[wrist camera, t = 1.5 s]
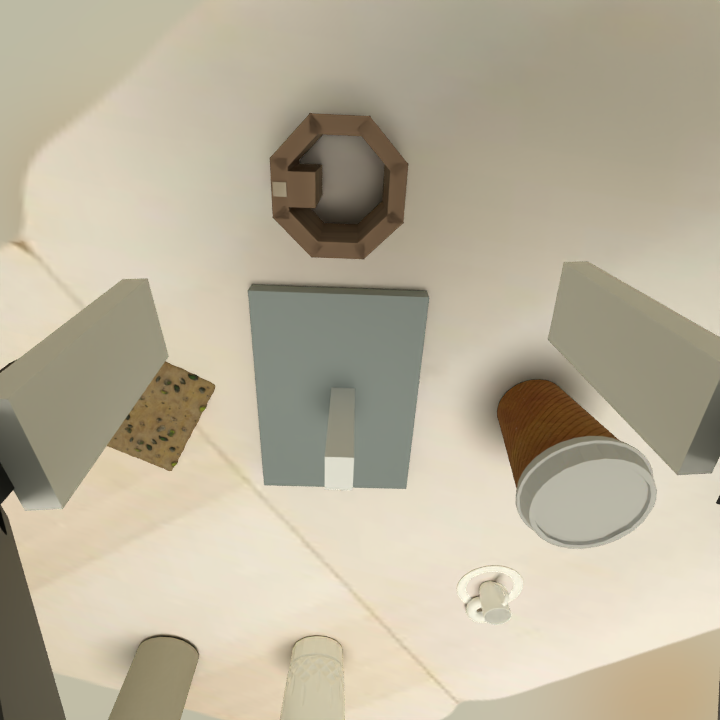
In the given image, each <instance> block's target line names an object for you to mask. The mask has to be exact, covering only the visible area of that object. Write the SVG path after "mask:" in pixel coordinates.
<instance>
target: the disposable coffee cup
mask: <svg viewBox="0 0 720 720" xmlns="http://www.w3.org/2000/svg"><path fill="white" fill-rule="evenodd" d="M497 417H498V420H499V424H500V427H501V431H502V435H503V439H504V443H505V447H506V450H507V454H508V458H509V462H510V466H511V469H512V473H513V477H514V480H515V484H516V488H517V490H516V507H517V510H518V513H519V515H520V517H521V519H522V520H523V522H524V523H525V524H526V525H527V526H528V527H529V528H531V529H532V530H533V531H535V532H536V534H537V535H538V536H539V537H540V538H542V539H543V540H545V541H547V542H548V543H550V544H553V545H556V546H558V547H564V548H572V549H583V548H591V547H596V546H601V545H604V544H608V543H611V542H613V541H615V540H618V539H620V538H622V537H623V536H625V535H627V534H629V533H630V532H632V531H633V530H634V529H636V528H637V527H638V526H639V525H640V524H641V523H642V522H643V521H644V520H645V519H646V517H647V516H648V514H649V513H650V511H651V510H652V508H653V507H654V504H655V501H656V494H657V489H656V485H655V482H654V479H653V472H652V467H651V465H650V463H649V461H648V460H647V459H646V457H645V456H644V455H643V454H642V453H641V452H640V451H639V450H637V449H636V448H634V447H632V446H630V445H629V444H627V443H624V442H622V441H619V439H617V438H616V437H614V435H613V434H612V433H610V432H609V431H608V430H607V429H606V428H604V426H603V425H601V424H600V423H599V422H598V421H597V420H595V418H594V417H592V416H591V415H590V414H589V413H588V412H586V410H584V409H583V408H582V407H581V406H580V405H579V404H578V403H577V402H575V401H574V400H573V399H572V398H571V397H570V396H569V395H567V394H566V393H565V392H564V391H563V390H562V389H561V388H560V387H559V386H557V385H556V384H554V383H553V382H550V381H547V380H540V379H539V380H528V381H525V382H522V383H520V384H517V385H515V386H514V387H513V388H511V389H510V390H509V391H507V392H506V394H505V395H504V396H503V397H502V399H501V400H500V403H499V405H498V409H497Z"/></svg>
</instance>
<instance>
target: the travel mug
mask: <svg viewBox="0 0 720 720" xmlns="http://www.w3.org/2000/svg"><path fill="white" fill-rule="evenodd" d="M198 658H199V656H198V653H197V651H196V650H195V649H194V648H193V647H192V646H191V645H190V644H188V643H186V642H184V641H183V640H180V639H176V638H173V637H156V638H151V639H148V640H146V641H144V642H142V643H141V644H140V646H139V647H138V650H137V652H136V654H135V657H134V659H133V662H132V664H131V666H130V669H129V671H128V673H127V676H126V678H125V681H124V683H123V685H122V688H121V690H120V693H119V695H118V698H117V700H116V702H115V704H114V707H113V709H112V712H111V714H110V716H109V719H108V720H180V719H181V715H182V712H183V709H184V706H185V702H186V699H187V695H188V692H189V689H190V685H191V682H192V679H193V675H194V672H195V669H196V665H197V662H198Z"/></svg>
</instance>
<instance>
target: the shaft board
mask: <svg viewBox="0 0 720 720" xmlns="http://www.w3.org/2000/svg"><path fill="white" fill-rule="evenodd" d="M248 296H249V308H250V320H251V332H252V344H253V356H254V368H255V380H256V392H257V404H258V416H259V428H260V440H261V452H262V464H263V476H264V485H277V486H316V487H325V490H353V487H355V488H393V489H406V486H407V477H408V469H409V461H410V453H411V444H412V436H413V428H414V419H415V411H416V403H417V395H418V386H419V378H420V370H421V361H422V353H423V345H424V337H425V328H426V320H427V312H428V303H429V296H428V293H427V291H415V290H388V289H361V288H334V287H307V286H279V285H251V287H250V288H249V290H248Z"/></svg>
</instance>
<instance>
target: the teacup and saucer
mask: <svg viewBox="0 0 720 720" xmlns="http://www.w3.org/2000/svg"><path fill="white" fill-rule="evenodd" d="M485 572H501V573H504V574H506V575H508V576H509V577H511V579H512V580H513V584H514V585H513V589H512V591H511V592H510V593H509V594H508V591H507V590H506V588H505V587H504V586H503V585H501V584H499V583H496V582H494V581H487V582H484V583H482V584H481V586H480V590H479V595H480V596H479V597H475V598H473V599H472V598H471V597H470V596H469V595H468V594H467V592H466V586H467V583H468V582H469V581H470V580H471V579H472V578H473V577H475V576H477V575H479V574H481V573H485ZM522 588H523V580H522V578H521V576H520V575H519V574H518V573H517V572H516V571H514V570H513V569H510V568H508V567H504V566H486V567H481V568H478V569H475V570H473V571H471V572H469V573H467V574H466V575H465V576H464V577H463V578H462V579H461V580H460V581H459V583H458V585H457V594H458V596H459V598H460V599H461V600H462V601H463V602H464V603H466V604H467V607H466V613H467V616H468V618H469V619H470V620H472V621H474V622H477V623H484V622H487V623H489V624H493V625H498V624H503V623H505V622H507V621H508V620H509V619H510V618H511V611H510V609H509V606H508V603H509V602H511V601H512V600H514V599H515V598H516V597H517V596H518V595H519V594H520V592H521V591H522ZM501 589H502V590H503V592H504V594H505V596H504V594H503V592H502V590H501ZM479 608H482V611H481V612H477V609H479Z"/></svg>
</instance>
